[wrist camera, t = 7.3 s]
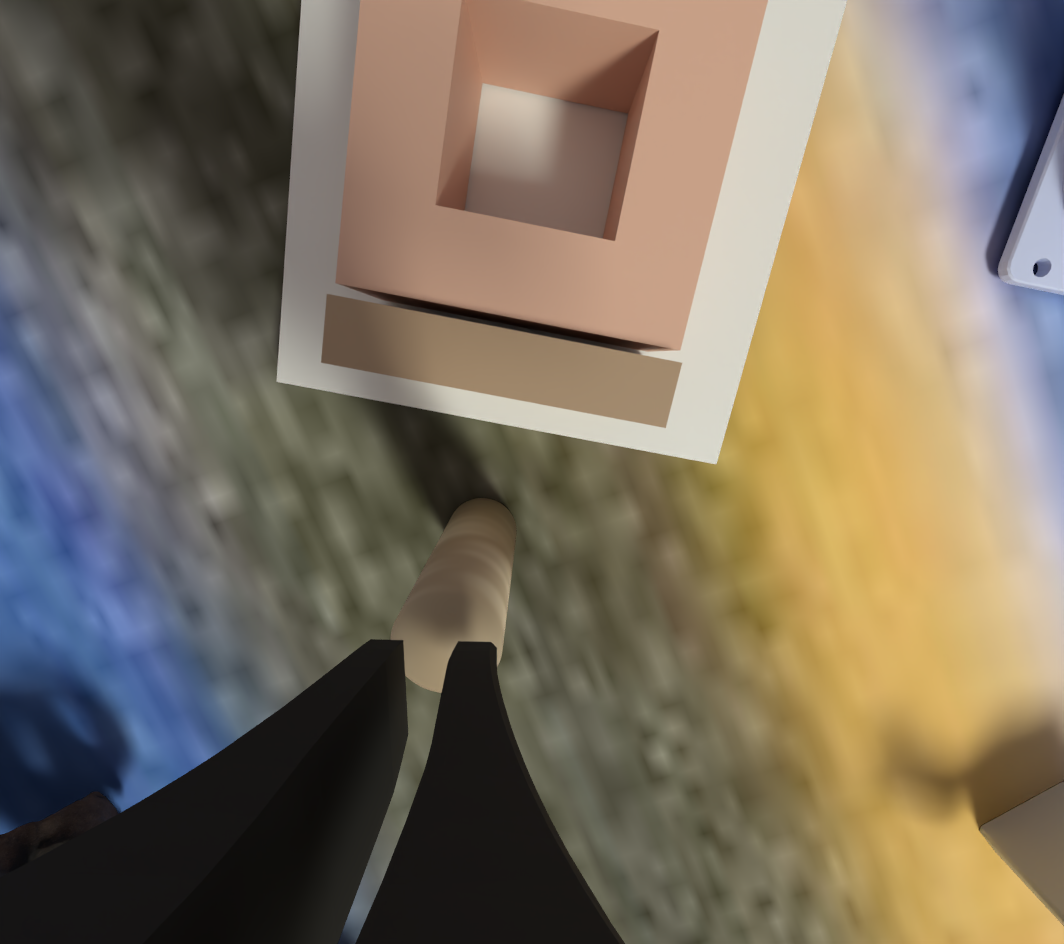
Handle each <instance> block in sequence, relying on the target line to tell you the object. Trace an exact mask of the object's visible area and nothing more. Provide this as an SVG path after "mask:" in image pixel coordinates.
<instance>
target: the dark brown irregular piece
mask: <svg viewBox="0 0 1064 944" xmlns="http://www.w3.org/2000/svg"><path fill="white" fill-rule="evenodd" d="M117 814H118V812H117V810H116V808H115V807H114V806H113V805H112V803H111V802H110V801H109V800H108V799H107V798H106V797H105V796H103V795H102V794H101V793H100V792H98V791H95V792H92V793H90V794H89V795H87V796H86V797H84V798H83V799H81V800H78V801H75V802H74V803H72V804H70V805H68V806H66V807H65V808H63V809H61V810H59V811H58V812H56V813H55V814H52V815H50V816H48V817H47V818H45V819H43V820H41V821H38V822H31V823H28V824H25V825H22V826H20V827H18V828H16V829H14V830H12V831H10V832H8V833H5V834H1V835H0V877H1V876H3V875H6V874H8V873H10V872H11V871H13V870H15V869H17V868H19V867H21V866H23V865H25V864H27V863H29V862H31V861H33V860H35V859H36V858H38V857H40V856H42V855H44V854H46V853H47V852H49V851H51V850H53V849H55V848H57V847H58V846H60V845H62V844H64V843H66V842H68V841H70V840H71V839H73V838H75V837H77V836H79V835H81V834H82V833H84V832H86V831H88V830H90V829H92V828H94V827H95V826H97V825H99V824H101V823H103V822H105V821H106V820H108V819H110V818H112V817H114V816H116V815H117Z"/></svg>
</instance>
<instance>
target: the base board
mask: <svg viewBox="0 0 1064 944" xmlns="http://www.w3.org/2000/svg"><path fill="white" fill-rule="evenodd" d="M846 3H847V0H768V3H767V7H766V11H765V15H764V19H763V23H762V27H761V31H760V35H759V39H758V43H757V47H756V51H755V55H754V59H753V63H752V67H751V70H750V74H749V78H748V82H747V86H746V90H745V94H744V98H743V102H742V106H741V110H740V114H739V118H738V122H737V126H736V130H735V134H734V138H733V142H732V146H731V150H730V154H729V158H728V162H727V166H726V170H725V174H724V178H723V182H722V186H721V190H720V194H719V198H718V202H717V206H716V210H715V214H714V218H713V222H712V226H711V230H710V234H709V238H708V242H707V246H706V250H705V254H704V258H703V262H702V266H701V270H700V274H699V278H698V282H697V286H696V290H695V294H694V298H693V302H692V306H691V310H690V314H689V318H688V322H687V326H686V330H685V334H684V338H683V342H682V346H681V350H678V351H651V352H647V351H641V350H636V349H631V348H626V347H621V346H616V345H611V344H605V343H600V342H595V341H590V340H585V339H580V338H575V337H569V336H564V335H559V334H554V333H549V332H544V331H539V330H533V329H528V328H523V327H518V326H513V325H508V324H503V323H497V322H492V321H487V320H482V319H477V318H472V317H467V316H461V315H456V314H451V313H446V312H441V311H436V310H431V309H426V308H420V307H415V306H410V305H405V304H400V303H395V302H390V301H384V300H381V299H378V298H375V297H373V296H370V295H367V294H364V293H362V292H359V291H356V290H353V289H350V288H348V287H345V286H342V285H339V284H336V283H335V281H336V270H337V259H338V247H339V236H340V225H341V213H342V202H343V191H344V179H345V168H346V157H347V146H348V134H349V123H350V112H351V100H352V89H353V78H354V66H355V55H356V44H357V33H358V21H359V10H360V0H301V15H300V31H299V46H298V62H297V77H296V92H295V108H294V123H293V138H292V154H291V169H290V185H289V200H288V215H287V231H286V246H285V261H284V277H283V292H282V307H281V323H280V338H279V354H278V369H277V382H281V383H286V384H292V385H297V386H302V387H308V388H313V389H318V390H324V391H329V392H334V393H340V394H345V395H350V396H356V397H361V398H366V399H372V400H377V401H382V402H388V403H393V404H398V405H404V406H409V407H414V408H420V409H425V410H430V411H435V412H441V413H446V414H451V415H457V416H462V417H467V418H473V419H478V420H483V421H489V422H494V423H499V424H505V425H510V426H515V427H521V428H526V429H531V430H537V431H542V432H547V433H553V434H558V435H563V436H568V437H574V438H579V439H584V440H590V441H595V442H600V443H606V444H611V445H616V446H622V447H627V448H632V449H638V450H643V451H648V452H654V453H659V454H664V455H670V456H675V457H680V458H686V459H691V460H696V461H702V462H707V463H712V464H717V460H718V456H719V453H720V449H721V446H722V442H723V439H724V435H725V432H726V428H727V425H728V421H729V417H730V414H731V410H732V407H733V403H734V400H735V396H736V393H737V389H738V386H739V382H740V378H741V375H742V371H743V368H744V364H745V361H746V357H747V354H748V350H749V347H750V343H751V339H752V336H753V332H754V329H755V325H756V322H757V318H758V315H759V311H760V308H761V304H762V300H763V297H764V293H765V290H766V286H767V283H768V279H769V276H770V272H771V269H772V265H773V261H774V258H775V254H776V251H777V247H778V244H779V240H780V237H781V233H782V230H783V226H784V222H785V219H786V215H787V212H788V208H789V205H790V201H791V198H792V194H793V190H794V187H795V183H796V180H797V176H798V173H799V169H800V166H801V162H802V159H803V155H804V151H805V148H806V144H807V141H808V137H809V134H810V130H811V127H812V123H813V120H814V116H815V112H816V109H817V105H818V102H819V98H820V95H821V91H822V88H823V84H824V81H825V77H826V73H827V70H828V66H829V63H830V59H831V56H832V52H833V49H834V45H835V42H836V38H837V34H838V31H839V27H840V24H841V20H842V17H843V13H844V10H845V6H846ZM627 117H628V113H623V112H618V111H613V110H609V109H604V108H599V107H594V106H590V105H585V104H580V103H575V102H571V101H566V100H561V99H556V98H552V97H547V96H542V95H537V94H532V93H528V92H523V91H518V90H513V89H509V88H504V87H499V86H494V85H490V84H485V83H483V84H482V91H481V98H480V105H479V112H478V119H477V126H476V133H475V140H474V147H473V154H472V161H471V168H470V175H469V182H468V190H467V197H466V204H465V211H468V212H473V213H478V214H483V215H488V216H493V217H498V218H503V219H507V220H512V221H517V222H522V223H527V224H532V225H537V226H542V227H547V228H552V229H557V230H562V231H567V232H572V233H577V234H582V235H587V236H592V237H597V238H602V239H603V234H604V229H605V224H606V220H607V215H608V210H609V205H610V200H611V195H612V190H613V185H614V180H615V175H616V171H617V166H618V161H619V156H620V151H621V146H622V141H623V136H624V131H625V126H626V122H627Z"/></svg>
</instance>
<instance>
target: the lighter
mask: <svg viewBox="0 0 1064 944" xmlns="http://www.w3.org/2000/svg"><path fill="white" fill-rule="evenodd" d="M980 832H981V833H982V835H983V836H984V837H985V839H986V840H987V841H988V843H989V844H990V845H991V847H992V848H993V849H994V851H995V852H996V853H997V854H998V855H999V856H1000V857H1001V859H1002V860H1003V861H1004V862H1005V863H1006V864H1007V865H1008V866H1009V867H1010V868H1011V869H1012V870H1013V872H1014V873H1015V874H1016V875H1017V876H1018V877H1019V878H1020V879H1021V880H1022V881H1023V882H1024V883H1025V885H1026V886H1027V887H1028V888H1029V889H1030V890H1031V891H1032V892H1033V893H1034V894H1035V895H1036V897H1037V898H1038V899H1039V900H1040V901H1041V902H1042V903H1043V904H1044V905H1045V906H1046V907H1047V908H1048V910H1049V911H1050V912H1051V913H1052V914H1053V915H1054V916H1055V917H1056V918H1057V919H1058V920H1059V921H1060V923H1061V924H1062V925H1063V926H1064V781H1063V782H1061V783H1059V784H1057V785H1055V786H1054V787H1052V788H1050V789H1048V790H1046V791H1044V792H1043V793H1041V794H1039V795H1037V796H1035V797H1033V798H1032V799H1030V800H1028V801H1026V802H1024V803H1022V804H1021V805H1019V806H1017V807H1015V808H1013V809H1011V810H1010V811H1008V812H1006V813H1004V814H1002V815H1000V816H999V817H997V818H995V819H993V820H991V821H990V822H988V823H986V824H984V825H982V826H981V828H980Z"/></svg>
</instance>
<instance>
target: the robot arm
mask: <svg viewBox="0 0 1064 944" xmlns="http://www.w3.org/2000/svg"><path fill="white" fill-rule="evenodd" d="M1035 263H1037V265H1038V271H1037V273H1036V275H1034V273H1033V266H1034V264H1035ZM998 274H999V277H1000V278H1001V280H1002V281H1003V282H1005V283H1007V284H1012V285H1016V286H1021V287H1026V288H1031V289H1036V290H1041V291H1046V292H1051V293H1056V294H1061V295H1064V95H1063V98H1062V100H1061V103H1060V106H1059V108H1058V111H1057V113H1056V116H1055V119H1054V121H1053V124H1052V126H1051V129H1050V132H1049V134H1048V137H1047V140H1046V142H1045V145H1044V147H1043V150H1042V153H1041V155H1040V158H1039V160H1038V163H1037V166H1036V168H1035V171H1034V174H1033V176H1032V179H1031V181H1030V184H1029V187H1028V189H1027V192H1026V194H1025V197H1024V200H1023V202H1022V205H1021V208H1020V210H1019V213H1018V215H1017V218H1016V221H1015V223H1014V226H1013V228H1012V231H1011V234H1010V236H1009V239H1008V242H1007V244H1006V247H1005V249H1004V252H1003V255H1002V257H1001V260H1000V262H999V267H998ZM407 737H408V721H407V702H406V682H405V663H404V644H403V640H372V639H371V640H369V641H368V642H366V643H365V644H364V645H362V646H361V647H360V648H358V649H357V650H356V651H354V652H353V653H352V654H351V655H349V656H348V657H347V658H346V659H344V660H343V661H342V662H340V663H339V664H338V665H337V666H335V667H334V668H333V669H332V670H330V671H329V672H328V673H327V674H325V675H324V676H323V677H321V678H320V679H319V680H318V681H316V682H315V683H314V684H312V685H311V686H310V687H309V688H307V689H306V690H305V691H303V692H302V693H301V694H299V695H298V696H297V697H296V698H294V699H293V700H292V701H290V702H289V703H288V704H286V705H285V706H284V707H282V708H281V709H280V710H278V711H277V712H275V713H274V714H273V715H271V716H270V717H268V718H267V719H266V720H264V721H263V722H261V723H260V724H259V725H257V726H256V727H254V728H253V729H251V730H250V731H249V732H247V733H246V734H244V735H243V736H242V737H240V738H239V739H237V740H236V741H235V742H233V743H232V744H230V745H229V746H227V747H226V748H225V749H223V750H222V751H220V752H219V753H217V754H216V755H214V756H213V757H211V758H210V759H208V760H207V761H205V762H203V763H202V764H200V765H199V766H197V767H196V768H194V769H193V770H191V771H189V772H188V773H186V774H185V775H183V776H181V777H180V778H178V779H177V780H175V781H173V782H172V783H170V784H168V785H167V786H165V787H163V788H162V789H160V790H158V791H157V792H155V793H153V794H152V795H150V796H149V797H147V798H145V799H144V800H142V801H140V802H139V803H137V804H135V805H133V806H132V807H130V808H128V809H126V810H125V811H123V812H121V813H119V814H117V815H116V816H114V817H112V818H110V819H108V820H106V821H105V822H103V823H101V824H99V825H97V826H95V827H94V828H92V829H90V830H88V831H86V832H84V833H82V834H81V835H79V836H77V837H75V838H73V839H71V840H70V841H68V842H66V843H64V844H62V845H60V846H58V847H57V848H55V849H53V850H51V851H49V852H47V853H46V854H44V855H42V856H40V857H38V858H36V859H35V860H33V861H31V862H29V863H27V864H25V865H23V866H21V867H19V868H17V869H15V870H13V871H11V872H10V873H8V874H6V875H3V876H1V877H0V944H338V941H339V938H340V936H341V933H342V930H343V928H344V925H345V922H346V920H347V917H348V914H349V912H350V909H351V906H352V904H353V901H354V898H355V896H356V893H357V890H358V888H359V885H360V882H361V880H362V877H363V874H364V871H365V869H366V866H367V863H368V861H369V858H370V855H371V853H372V850H373V847H374V845H375V842H376V839H377V837H378V834H379V831H380V828H381V826H382V823H383V820H384V818H385V815H386V812H387V809H388V807H389V804H390V801H391V798H392V795H393V793H394V789H395V785H396V781H397V778H398V774H399V770H400V766H401V762H402V758H403V754H404V750H405V745H406V741H407ZM356 944H625V943H624V941H623V940H622V939H621V937H620V936H619V934H618V933H617V931H616V930H615V928H614V927H613V925H612V924H611V922H610V920H609V919H608V917H607V916H606V914H605V912H604V911H603V909H602V907H601V906H600V904H599V902H598V901H597V899H596V897H595V896H594V894H593V893H592V891H591V889H590V888H589V886H588V884H587V883H586V881H585V879H584V878H583V876H582V874H581V873H580V871H579V869H578V868H577V866H576V865H575V863H574V861H573V860H572V858H571V856H570V855H569V853H568V851H567V849H566V847H565V846H564V844H563V842H562V840H561V838H560V836H559V834H558V832H557V830H556V829H555V827H554V825H553V823H552V821H551V819H550V817H549V815H548V813H547V811H546V809H545V807H544V805H543V803H542V801H541V799H540V797H539V795H538V793H537V790H536V788H535V786H534V784H533V782H532V779H531V777H530V775H529V772H528V770H527V768H526V765H525V763H524V760H523V758H522V755H521V753H520V750H519V747H518V745H517V742H516V740H515V737H514V734H513V731H512V728H511V725H510V722H509V719H508V715H507V712H506V708H505V705H504V702H503V698H502V694H501V690H500V686H499V680H498V675H497V647H496V646H495V645H494V644H493V643H492V642H475V641H458V642H457V644H456V646H455V648H454V650H453V652H452V654H451V656H450V658H449V660H448V664H447V668H446V673H445V678H444V683H443V688H442V693H441V698H440V704H439V709H438V714H437V719H436V724H435V729H434V735H433V740H432V745H431V748H430V752H429V756H428V760H427V764H426V767H425V770H424V773H423V776H422V778H421V781H420V784H419V787H418V790H417V792H416V795H415V798H414V801H413V803H412V806H411V809H410V812H409V815H408V817H407V820H406V823H405V825H404V828H403V830H402V833H401V835H400V838H399V840H398V843H397V846H396V848H395V851H394V853H393V856H392V858H391V861H390V863H389V866H388V868H387V871H386V874H385V876H384V879H383V881H382V884H381V886H380V888H379V891H378V893H377V895H376V898H375V900H374V902H373V904H372V907H371V909H370V911H369V914H368V916H367V918H366V921H365V923H364V925H363V927H362V930H361V932H360V934H359V937H358V939H357V941H356Z"/></svg>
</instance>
